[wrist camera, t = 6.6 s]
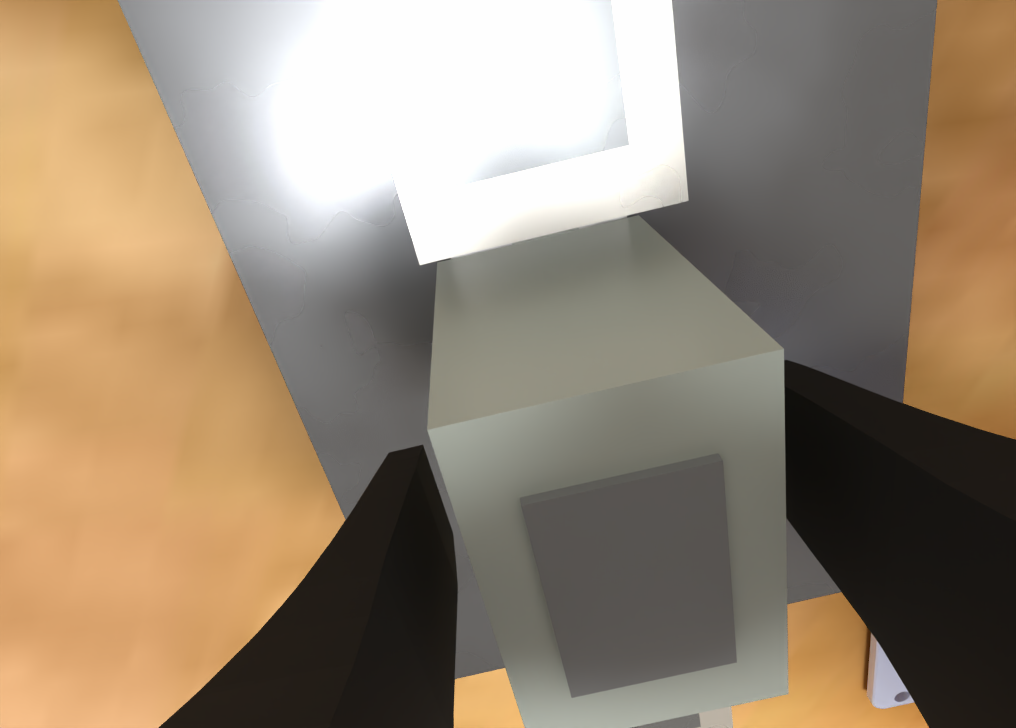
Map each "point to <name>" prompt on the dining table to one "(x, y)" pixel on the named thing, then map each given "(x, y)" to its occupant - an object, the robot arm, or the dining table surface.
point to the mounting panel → (743, 227)
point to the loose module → (614, 475)
